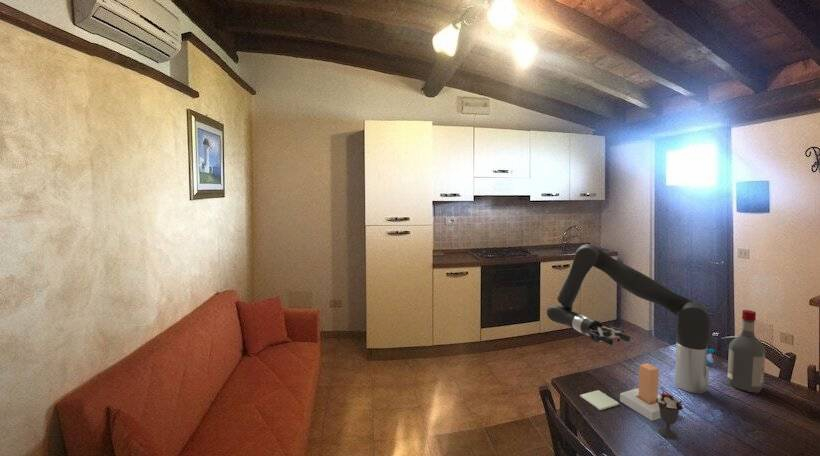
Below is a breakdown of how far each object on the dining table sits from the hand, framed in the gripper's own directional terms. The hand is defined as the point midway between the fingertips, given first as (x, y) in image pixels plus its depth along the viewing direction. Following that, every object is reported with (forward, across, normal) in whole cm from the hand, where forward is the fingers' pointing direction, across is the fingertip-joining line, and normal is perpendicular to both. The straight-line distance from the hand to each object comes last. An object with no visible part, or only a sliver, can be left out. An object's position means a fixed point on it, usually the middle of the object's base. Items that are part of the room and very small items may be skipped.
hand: (620, 340), depth 130 cm
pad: (+2, -12, +20) cm, 24 cm away
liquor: (+16, +46, +20) cm, 53 cm away
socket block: (+11, 0, +20) cm, 23 cm away
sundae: (+23, -7, +20) cm, 31 cm away
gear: (-3, +52, +20) cm, 56 cm away
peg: (+11, 0, +20) cm, 23 cm away
